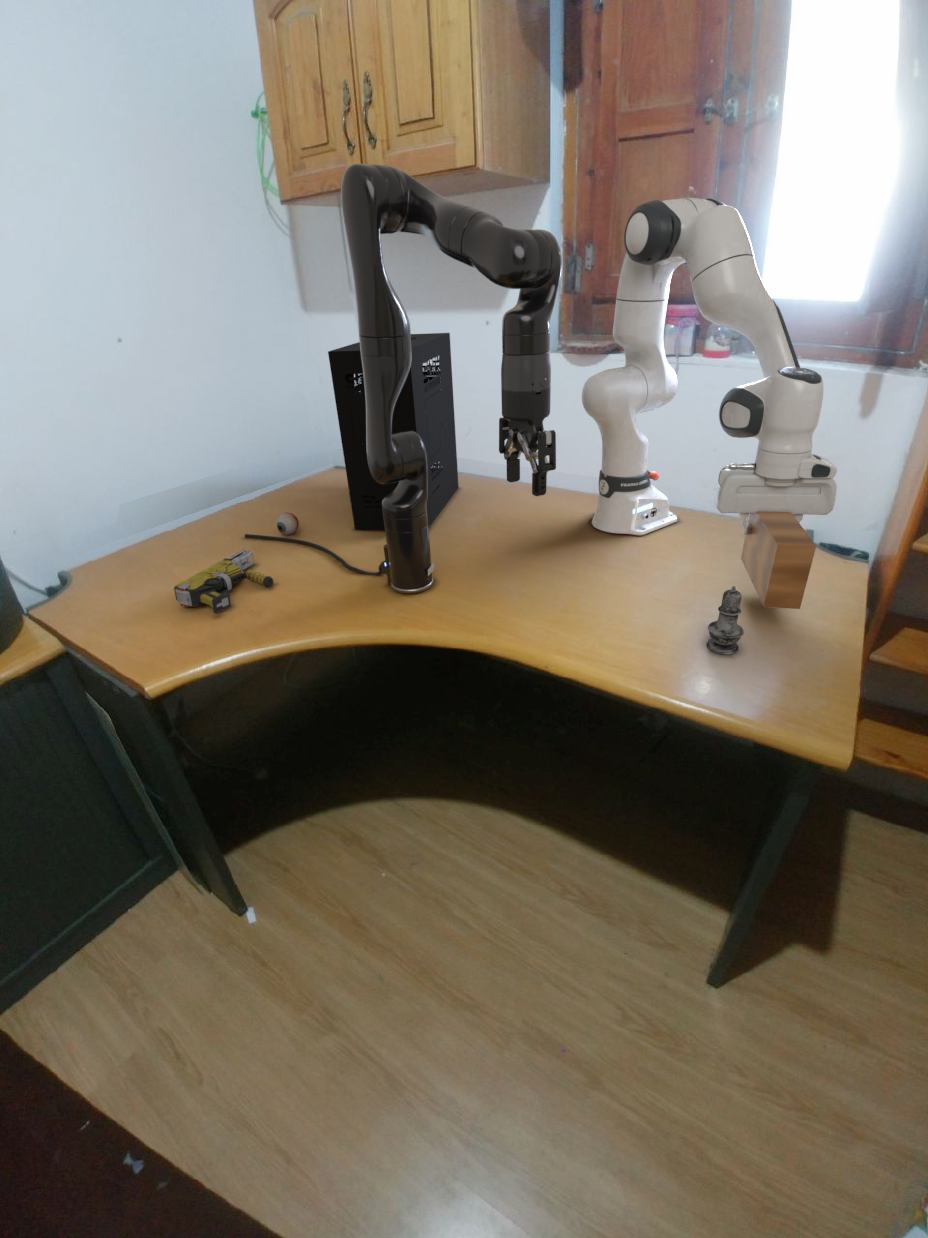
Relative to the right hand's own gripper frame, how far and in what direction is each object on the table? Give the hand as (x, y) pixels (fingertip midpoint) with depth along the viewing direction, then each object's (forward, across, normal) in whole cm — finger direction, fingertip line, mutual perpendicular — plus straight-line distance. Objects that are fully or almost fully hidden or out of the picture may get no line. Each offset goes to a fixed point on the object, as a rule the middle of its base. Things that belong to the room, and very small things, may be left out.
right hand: (766, 534), depth 118 cm
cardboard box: (+12, -87, +45) cm, 98 cm away
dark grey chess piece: (+13, -10, -22) cm, 27 cm away
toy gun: (+12, -112, -11) cm, 113 cm away
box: (+7, 0, -8) cm, 10 cm away
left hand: (-16, -44, -22) cm, 52 cm away
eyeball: (+12, -115, +22) cm, 117 cm away
